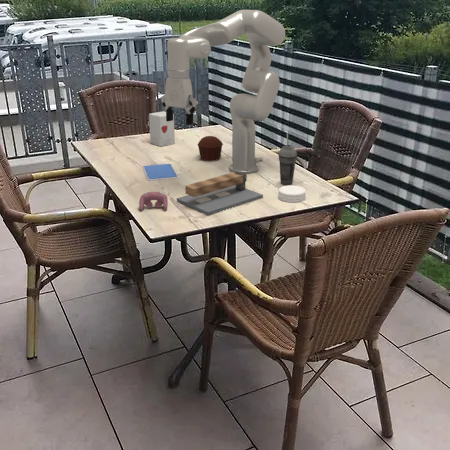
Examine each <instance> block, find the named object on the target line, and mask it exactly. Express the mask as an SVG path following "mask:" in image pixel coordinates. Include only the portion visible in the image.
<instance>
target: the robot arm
mask: <svg viewBox="0 0 450 450" xmlns="http://www.w3.org/2000/svg"><path fill="white" fill-rule="evenodd" d="M243 35H246V38H247V40H248V42H249V47H250V58H249V61H248V64H247V66H246V69H245V72H244V75H243V78H242V81H241V85H242V88H243V89H244V91H246V92H249V93H253V94H248V93H237V94H236V95H234V96H233V97H232V98H231V99H230V103H229V112H230V116H231V123H232V125H231V126H232V132H231V133H232V134H231V135H232V140H231V141H232V143H231V144H232V146H231V147H232V148H231V149H232V154H231V155H232V158H231V159H232V161H231V164H229V165H228V170H229V172H230V173H233V172H238V171H243V172H246V173H247V174H253V173H255V172H257V171H259V166H258V165H257V164H258V163H261V162H263V160H264V159H263V157H261V156H259V157H256V124H255V122H254V121H256V122H263V121H265V120H266V119H267V118H268V117H269V115H270V113H271V111H272V109H273V106H274V103H275V101H276V98H277V95H278V92H279V89H280V77H279V75H278V73H277V72H275V71H273V70H270V67H271V63H272V55H271V54H272V53H271V50H270V46H274V47H275V46H276V47H277V46H279V45H281V44H282V43H283V42H284V40H285V39H286V29H285V28H284V25H283V24H282V23H281V22H279V21H277V19H274V17H272V16H270V15H268V14H267V13H266V12H264V11H262V10H259V9H240V10H237V11H235V12H233V13H231V14H230V15H228V16H226V17H224V18H222V19H220V20H218V21H216V22H213V23H209V24H206V25H203V26H200V27H197V28H193V29H191V30H190V31H188V32H185V33H183V34H182V35H180V36H178V37H173V38H170V39H168V41H167V70H166V74H167V75H168V77H167V78H166V79H165V80H166V81H165V86H164V95H162V96H161V97H160V100H161V103H162V104H161V105H162V106H163V107H164V111H165V112H166V121H172V120H173V114H174V111H173V110H174V109H173V108H176V109H185V112H186V114H185V121H186V122H185V124H186V126H190V125H194V114H195V112H196V111H197V110H198V107H199V104H200V103H199V101H198V100H197V99H195V98H194V96H193V95H194V94H193V86H192V80H191V79H190V59H191V60H204V59H206V58H207V57H209V55H210V54H211V52H212V51H211V49H212V47H217V46H224V45H227V44H230V43H231V42H233V41H234V40H236V39H238V38H239V37H241V36H243ZM254 94H256V95H254Z"/></svg>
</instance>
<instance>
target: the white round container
mask: <svg viewBox="0 0 450 450" xmlns="http://www.w3.org/2000/svg"><path fill="white" fill-rule="evenodd" d="M306 193H307V191H306V188H304V187H303V186H300V185H293V184H292V185H288V186H284V185H282V186H281V187H279V189H278V194H277V198H278V199H279V200H280V201H282V202H285V201H286V202H285V203H300V201H301V202H303V201H305V200H306V195H307V194H306Z"/></svg>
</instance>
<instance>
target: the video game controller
mask: <svg viewBox="0 0 450 450" xmlns="http://www.w3.org/2000/svg"><path fill="white" fill-rule="evenodd" d="M152 201H155V203H154V204H153V202H152ZM168 202H169V201H168V196H167V194H166V193H163V192H160V191H148V192H144V193H143V194H141V196H140V198H139V202H138V204H139V206H138V207H139V211H140V212H142V211H143V210H144V208H145V207H147V208H148V209H151V208H153V206H155V207H156V209H160V208H162V207H163V210H164V212H166V211H167V210H168V205H169V204H168Z"/></svg>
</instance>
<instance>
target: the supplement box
mask: <svg viewBox="0 0 450 450" xmlns="http://www.w3.org/2000/svg"><path fill="white" fill-rule="evenodd" d="M148 118H149V119H148V121H149V138H150V139H149V140H150V142H149V143H150V144H152V145H155V146H158V147H165V146H170V145H174V144H176V143H175V142H176V141H175V134H176V133H175V114H174V113H173V120H172V121H166V111H165V110H163V111H157V112H152V113H151V112H150V113H149V114H148Z"/></svg>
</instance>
